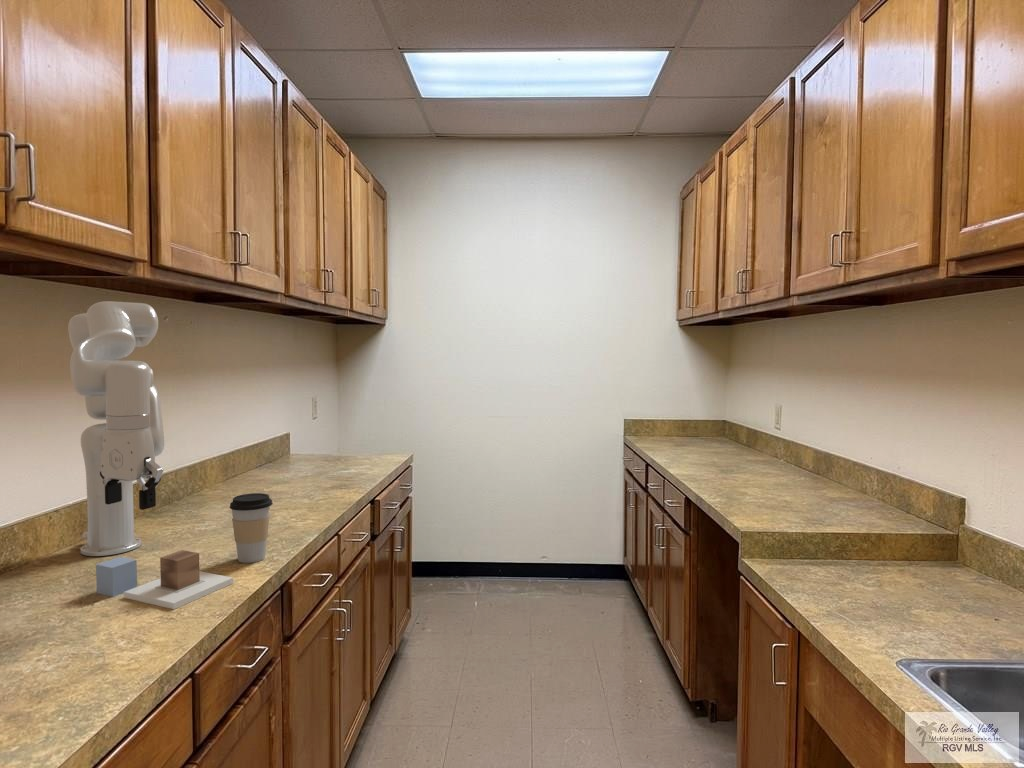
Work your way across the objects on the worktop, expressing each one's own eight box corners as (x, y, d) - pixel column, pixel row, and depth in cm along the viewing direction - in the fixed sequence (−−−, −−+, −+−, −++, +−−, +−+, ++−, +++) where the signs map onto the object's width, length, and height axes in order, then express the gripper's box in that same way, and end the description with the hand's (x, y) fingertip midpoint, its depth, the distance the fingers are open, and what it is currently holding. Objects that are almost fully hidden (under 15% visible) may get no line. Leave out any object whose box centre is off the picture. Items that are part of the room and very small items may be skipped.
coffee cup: (232, 554, 143) (231, 494, 142) (273, 550, 146) (273, 491, 146) (228, 567, 134) (227, 503, 133) (272, 563, 137) (272, 500, 137)
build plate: (124, 597, 117) (123, 591, 117) (186, 573, 130) (185, 567, 130) (173, 609, 112) (173, 602, 112) (233, 583, 125) (233, 577, 125)
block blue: (96, 593, 120) (95, 564, 119) (120, 584, 124) (120, 556, 124) (113, 597, 118) (112, 567, 118) (137, 588, 122) (136, 559, 122)
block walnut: (160, 586, 120) (160, 557, 120) (182, 577, 124) (182, 550, 124) (178, 590, 118) (177, 560, 118) (199, 581, 123) (199, 553, 122)
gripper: (80, 422, 119) (82, 505, 120) (142, 428, 113) (143, 515, 114) (116, 418, 126) (118, 496, 127) (176, 423, 120) (177, 505, 121)
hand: (130, 505), depth 121 cm, fingers open, 9 cm apart
